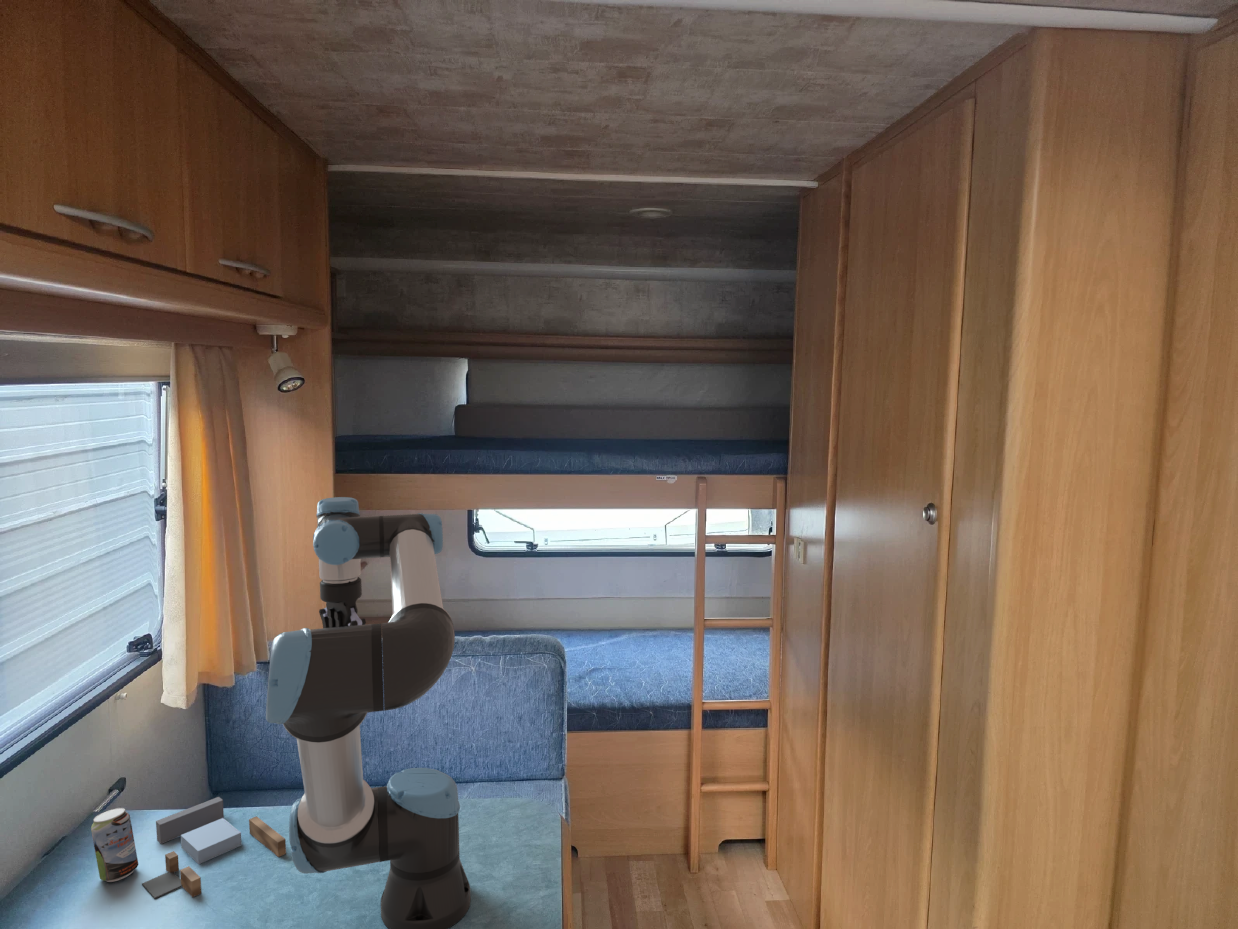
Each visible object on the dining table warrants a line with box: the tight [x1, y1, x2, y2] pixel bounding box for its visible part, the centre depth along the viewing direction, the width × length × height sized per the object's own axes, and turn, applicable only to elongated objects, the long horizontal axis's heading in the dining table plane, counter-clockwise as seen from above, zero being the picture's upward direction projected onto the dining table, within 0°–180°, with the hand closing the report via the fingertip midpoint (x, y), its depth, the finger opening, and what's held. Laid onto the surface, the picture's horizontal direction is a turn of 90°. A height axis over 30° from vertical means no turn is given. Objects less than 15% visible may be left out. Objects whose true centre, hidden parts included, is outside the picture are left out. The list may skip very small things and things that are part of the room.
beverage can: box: [90, 807, 139, 883], centre depth 144 cm, size 6×7×12 cm
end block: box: [155, 796, 225, 845], centre depth 159 cm, size 2×12×4 cm, turn 139°
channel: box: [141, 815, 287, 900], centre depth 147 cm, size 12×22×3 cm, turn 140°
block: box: [180, 818, 243, 865], centre depth 153 cm, size 8×8×3 cm
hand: (344, 697), depth 153 cm, fingers closed
